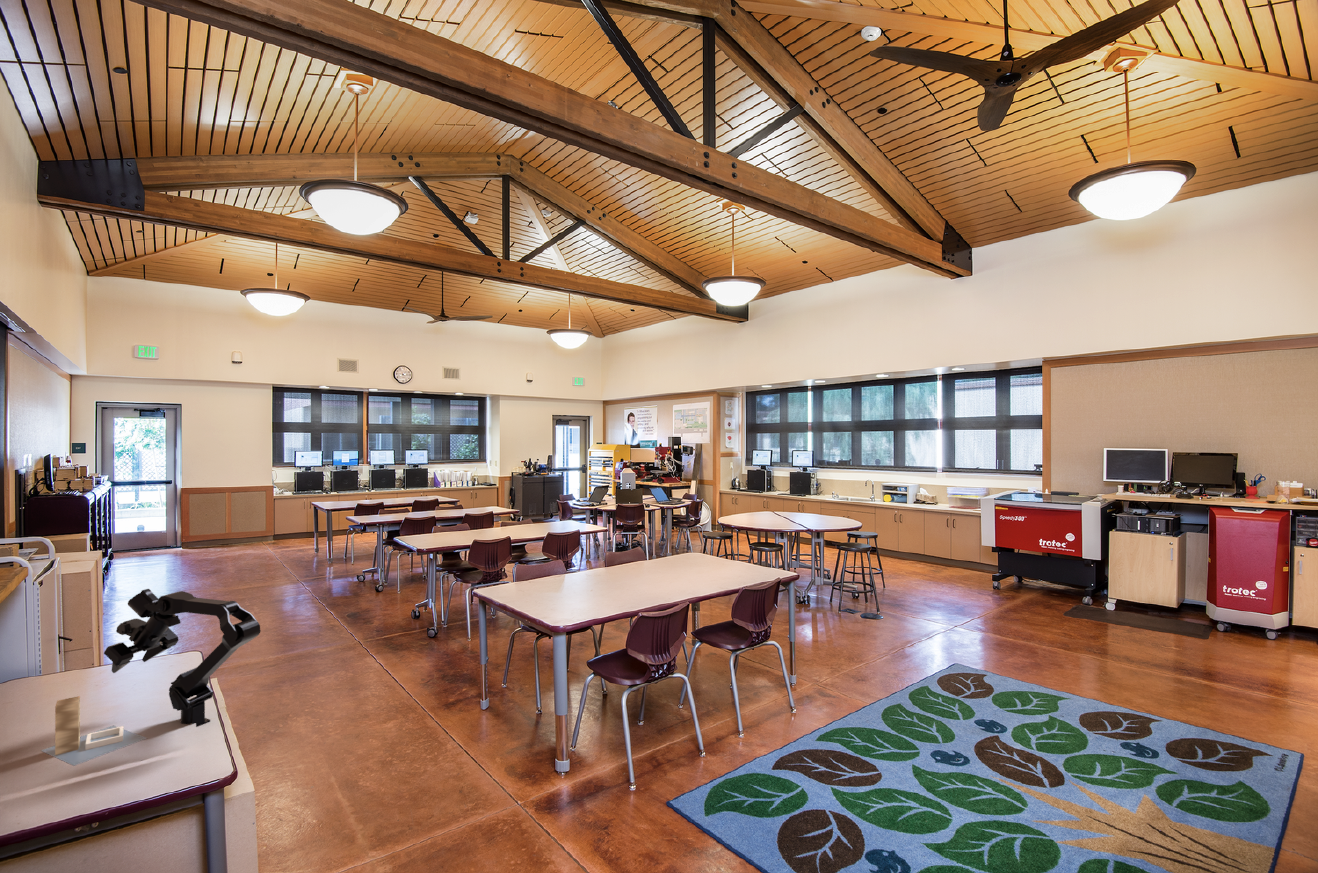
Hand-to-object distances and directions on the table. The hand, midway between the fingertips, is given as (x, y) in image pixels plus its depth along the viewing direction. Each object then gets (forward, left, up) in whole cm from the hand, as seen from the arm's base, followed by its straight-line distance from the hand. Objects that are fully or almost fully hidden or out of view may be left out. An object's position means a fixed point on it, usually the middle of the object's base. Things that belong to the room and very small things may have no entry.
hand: (128, 666), depth 187 cm
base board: (-13, +14, -16) cm, 25 cm away
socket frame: (-13, +11, -15) cm, 23 cm away
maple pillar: (-10, +18, -15) cm, 25 cm away
